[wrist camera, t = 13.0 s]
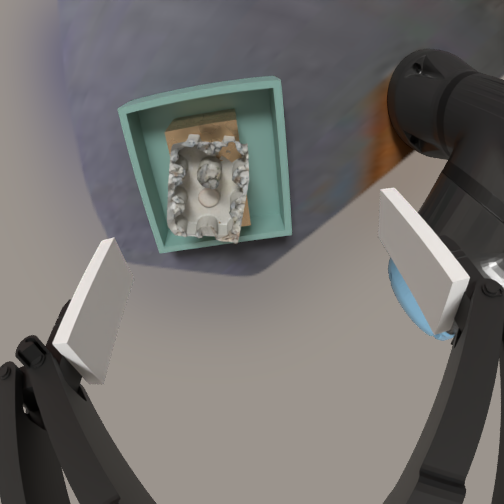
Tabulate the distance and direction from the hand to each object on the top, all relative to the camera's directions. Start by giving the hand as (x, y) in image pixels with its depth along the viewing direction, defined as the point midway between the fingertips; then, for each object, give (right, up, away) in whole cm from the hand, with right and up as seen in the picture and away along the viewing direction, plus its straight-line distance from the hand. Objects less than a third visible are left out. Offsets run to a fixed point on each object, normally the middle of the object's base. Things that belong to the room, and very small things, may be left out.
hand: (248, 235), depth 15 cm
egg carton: (-4, +7, +17) cm, 19 cm away
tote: (-5, +11, +22) cm, 25 cm away
